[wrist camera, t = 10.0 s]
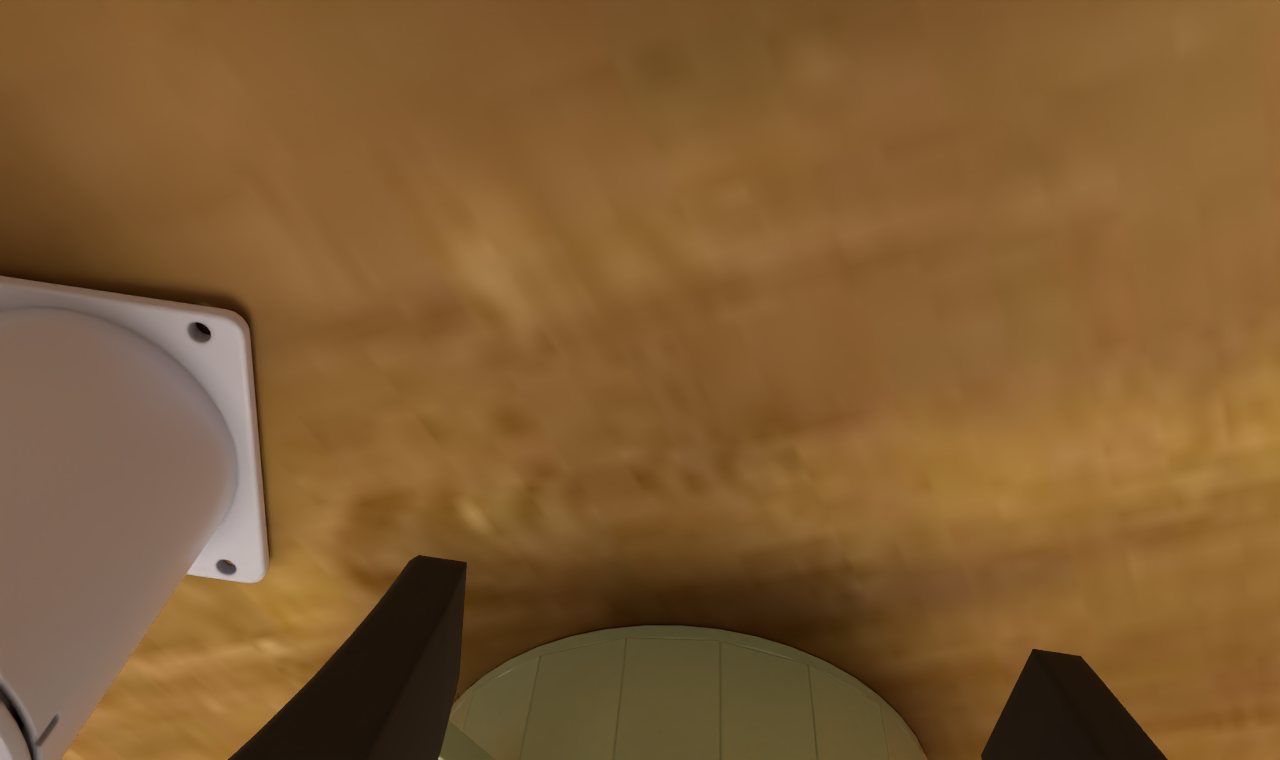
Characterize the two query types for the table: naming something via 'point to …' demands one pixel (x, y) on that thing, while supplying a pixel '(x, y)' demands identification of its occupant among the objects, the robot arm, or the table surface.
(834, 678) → the pot
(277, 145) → the table surface
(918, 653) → the table surface
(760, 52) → the table surface
